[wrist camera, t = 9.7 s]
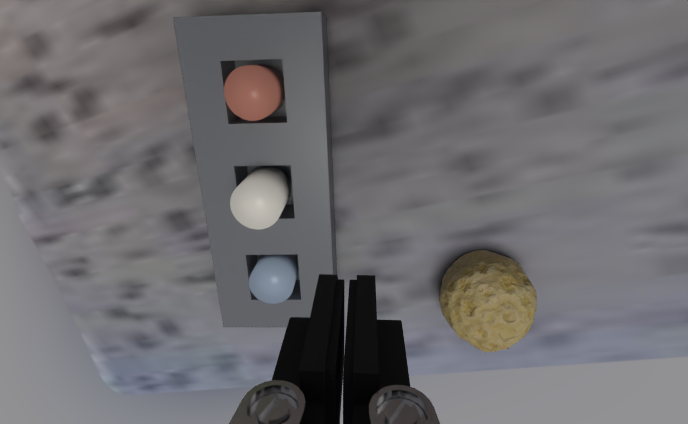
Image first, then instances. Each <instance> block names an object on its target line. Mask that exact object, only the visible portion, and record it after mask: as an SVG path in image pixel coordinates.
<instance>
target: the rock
mask: <svg viewBox="0 0 688 424" xmlns="http://www.w3.org/2000/svg"><path fill="white" fill-rule="evenodd" d="M443 276H444V277H443V279H442V285H441V289H440V291H441V292H440V294H439V300H440V304H441V309H442V312H443V315H444V317H445V318H446V320H447V322H448V323H449V324H450V325H451V328H452V329H453V330H454V331H455V332H456V334H457V335H458V336H459V337H460V338H461V339H464V340H466V341H468V342H469V343H470V344H471V345H473V346H474V347H476V348H477V349H480V350H482V351H484V352H492V351H495V352H496V351H498V350H503V349H509V346H511V345H513V344H516V343H517V342H518V341H519V340H521V339H522V338H523V337H524V336H525V335H526V334H527V332H528V330H529V329H530V327H531V325H532V323H533V320H534V313H535V312H536V306H537V297H536V290H535V288H534V287H533V285H532V283H531V282H530V281H529V279H528V278H527V276H526V275H525V273H524V272H523V270H522V269H521V267H520V265H519V263H517V262H515V261H514V260H513V259H511V258H508V257H506V256H502V255H499V254H497V253H493V252H490V251H487V250H477V251H472V252H470V253H467V254H465V255H463V256H461V257H459V258H458V259H457V260H456V261H455V262H454V263H453V264H452V265H451V266H450V267H449V268H448V269H447V271H446V273H445V275H443Z"/></svg>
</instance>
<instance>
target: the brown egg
mask: <svg viewBox="0 0 688 424" xmlns="http://www.w3.org/2000/svg"><path fill="white" fill-rule="evenodd" d="M224 96H225V100H226V102H227V105H228V106H229V108H230V109H231V111H232V112H233V113H234V114H236V115H237V116H238V117H240V118H242V119H245V120H249V121H257V120H261V119H263V118H265V117H267V116H269V115H270V114H272V113H273V112H275V111H277V110H278V109H280V108H281V107H282V106H283V104H284V103H285V88H284V76H283V75H282V74H281V72H280V71H278V70H277V69H276V68H274V67H272V66H270V65H265V64H260V65H246V66H241V67H238V68H236V69H235V70H233V71H232V72H231V73H230V74H229V76H228V77H227V79H226V82H225V86H224Z"/></svg>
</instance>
